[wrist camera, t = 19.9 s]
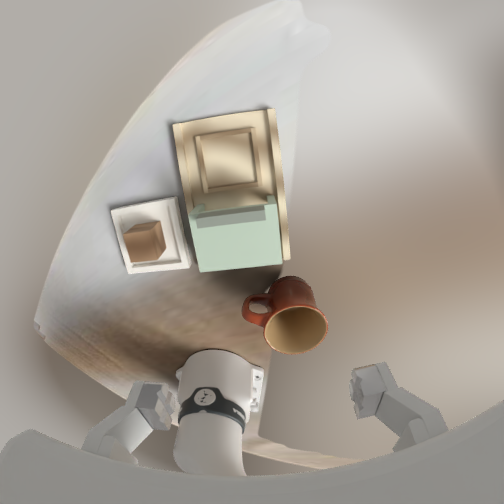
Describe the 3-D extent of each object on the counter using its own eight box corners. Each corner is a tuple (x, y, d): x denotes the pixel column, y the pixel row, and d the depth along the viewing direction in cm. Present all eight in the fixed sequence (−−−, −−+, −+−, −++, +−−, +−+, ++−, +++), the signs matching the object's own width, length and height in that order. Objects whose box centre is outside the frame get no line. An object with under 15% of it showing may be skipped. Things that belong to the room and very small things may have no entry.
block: (166, 248, 41) (157, 260, 37) (141, 251, 41) (130, 262, 37) (160, 220, 39) (149, 230, 35) (134, 224, 40) (122, 234, 36)
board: (289, 255, 42) (290, 259, 41) (200, 265, 43) (199, 269, 42) (274, 109, 34) (274, 108, 32) (175, 125, 34) (172, 124, 33)
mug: (322, 276, 43) (338, 312, 34) (303, 318, 47) (312, 358, 37) (251, 257, 42) (250, 292, 33) (237, 303, 46) (233, 343, 36)
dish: (191, 263, 43) (189, 267, 41) (132, 269, 43) (128, 273, 42) (177, 196, 39) (174, 198, 37) (115, 208, 39) (110, 210, 38)
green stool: (279, 247, 41) (284, 272, 33) (207, 255, 41) (196, 281, 34) (273, 194, 38) (278, 208, 30) (197, 204, 38) (183, 220, 31)
